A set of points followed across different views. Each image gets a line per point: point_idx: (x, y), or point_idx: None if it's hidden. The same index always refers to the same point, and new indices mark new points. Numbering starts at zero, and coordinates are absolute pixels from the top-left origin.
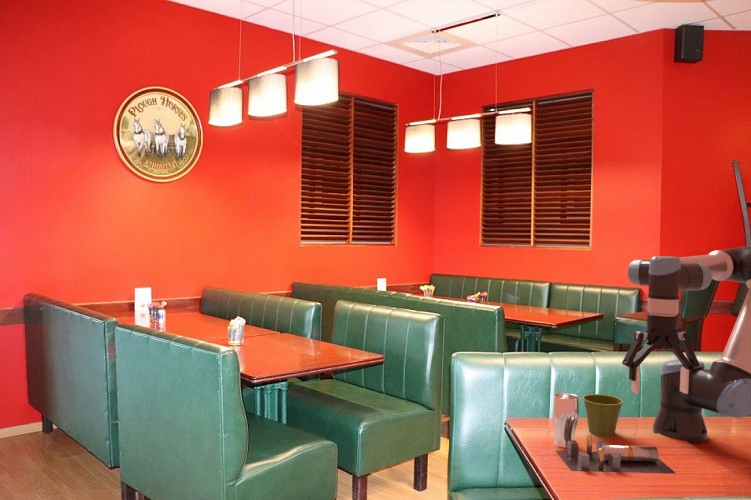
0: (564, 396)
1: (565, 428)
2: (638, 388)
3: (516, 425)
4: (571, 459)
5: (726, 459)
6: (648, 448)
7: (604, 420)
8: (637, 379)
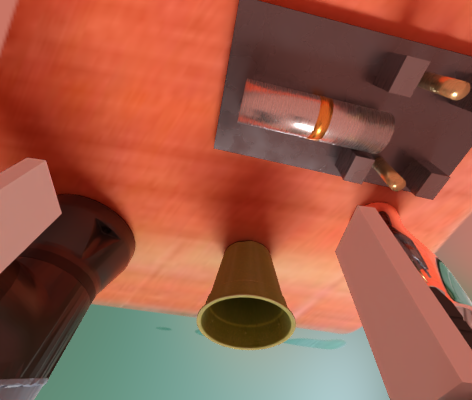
0: None
1: (415, 238)
2: (375, 228)
3: None
4: (447, 144)
5: (34, 100)
6: (268, 102)
7: (261, 269)
8: (418, 283)
